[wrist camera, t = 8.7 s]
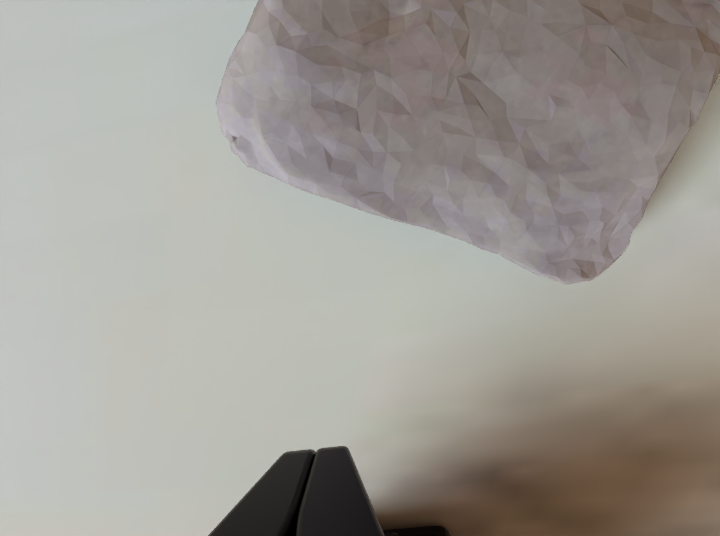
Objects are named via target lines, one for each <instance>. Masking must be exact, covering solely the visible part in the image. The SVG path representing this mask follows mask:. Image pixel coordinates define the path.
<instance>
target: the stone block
mask: <svg viewBox="0 0 720 536" xmlns="http://www.w3.org/2000/svg"><path fill="white" fill-rule="evenodd" d="M719 72H720V0H259V1H258V3H257V5H256V7H255V9H254V11H253V14H252V16H251V19H250V21H249V23H248V26H247V28H246V31H245V33H244V35H243V36H242V38H241V39H240V40H239V42H238V44H237V45H236V47H235V49H234V51H233V53H232V55H231V56H230V58H229V61H228V65H227V68H226V71H225V74H224V76H223V79H222V84H221V87H220V90H219V93H218V97H217V100H216V106H217V114H218V118H219V122H220V126H221V131H222V133H223V134H224V136H225V137H226V138H227V140H228V141H229V143H230V146H231V150H232V152H233V153H234V154H236V155H238V156H239V158H240V159H241V161H242V162H243V163H244V164H245V165H246V166H248V167H250V168H253V169H256V170H258V171H260V172H262V173H265V174H267V175H270V176H272V177H274V178H276V179H278V180H280V181H282V182H285V183H287V184H289V185H292V186H294V187H296V188H299V189H301V190H303V191H306V192H309V193H311V194H315V195H318V196H321V197H324V198H328V199H331V200H334V201H337V202H340V203H343V204H345V205H348V206H351V207H353V208H356V209H359V210H362V211H365V212H368V213H371V214H375V215H378V216H381V217H384V218H388V219H391V220H395V221H399V222H403V223H407V224H411V225H415V226H419V227H423V228H426V229H430V230H434V231H437V232H440V233H443V234H446V235H449V236H451V237H454V238H457V239H460V240H463V241H466V242H468V243H470V244H472V245H474V246H476V247H478V248H481V249H483V250H487V251H490V252H493V253H496V254H499V255H501V256H502V257H504V258H506V259H508V260H510V261H512V262H514V263H516V264H518V265H519V266H521V267H523V268H525V269H527V270H529V271H531V272H533V273H535V274H537V275H540V276H544V277H547V278H550V279H552V280H555V281H558V282H561V283H565V284H571V283H576V282H583V281H589V280H592V279H594V278H595V277H597V276H598V275H599V274H601V273H602V272H603V271H604V270H606V269H607V268H608V267H609V266H610V265H611V264H612V263H613V262H615V261H616V260H617V259H618V258H619V257H620V256H621V255H622V254H623V252H624V251H625V249H626V248H627V246H628V245H629V242H630V236H631V234H632V232H633V230H634V229H635V227H636V226H637V224H638V223H639V221H640V220H641V219H642V217H643V214H644V211H645V208H646V205H647V202H648V200H649V198H650V196H651V195H652V193H653V191H654V190H655V188H656V186H657V184H658V182H659V180H660V179H661V177H662V175H663V174H664V172H665V170H666V169H667V167H668V166H669V164H670V162H671V161H672V159H673V157H674V155H675V153H676V151H677V149H678V148H679V146H680V144H681V142H682V140H683V139H684V137H685V135H686V134H687V132H688V131H689V129H690V128H691V126H692V125H693V123H694V122H695V121H696V119H697V118H698V115H699V113H700V111H701V109H702V107H703V105H704V103H705V101H706V99H707V97H708V94H709V92H710V91H711V89H712V87H713V85H714V83H715V81H716V79H717V76H718V74H719Z"/></svg>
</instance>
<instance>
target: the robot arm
mask: <svg viewBox="0 0 720 536" xmlns="http://www.w3.org/2000/svg"><path fill="white" fill-rule="evenodd" d="M208 536H450V534H449V532H448V530H447V529H445V528H443V527H441V526H430V527H419V528H407V529H396V530H385V531H382V528H381V526H380V523H379V521H378V519H377V516H376V514H375V511H374V509H373V507H372V504H371V502H370V499H369V497H368V495H367V492H366V490H365V487H364V485H363V483H362V480H361V478H360V475H359V473H358V470H357V468H356V466H355V463H354V461H353V458H352V456H351V454H350V451H349V449H348V448H347V447H345V446H338V447H328V448H321V449H319V450H317V452H315V451H314V450H312V449H309V450H299V451H289V452H286V453H284V454H283V455H282V456H281V457H280V458H279V459H278V460H277V461H276V462H275V463H274V464H273V465H272V466H271V468H270V469H269V470H268V471H267V472H266V473H265V474H264V475H263V476H262V477H261V478H260V480H259V481H258V482H257V483H256V484H255V485H254V486H253V487H252V488H251V489H250V490H249V492H248V493H247V494H246V495H245V496H244V497H243V498H242V499H241V500H240V501H239V503H238V504H237V505H236V506H235V507H234V508H233V509H232V510H231V511H230V512H229V513H228V515H227V516H226V517H225V518H224V519H223V520H222V521H221V522H220V523H219V524H218V526H217V527H216V528H215V529H214V530H213V531H212V532H211V533H210V534H209V535H208Z"/></svg>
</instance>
